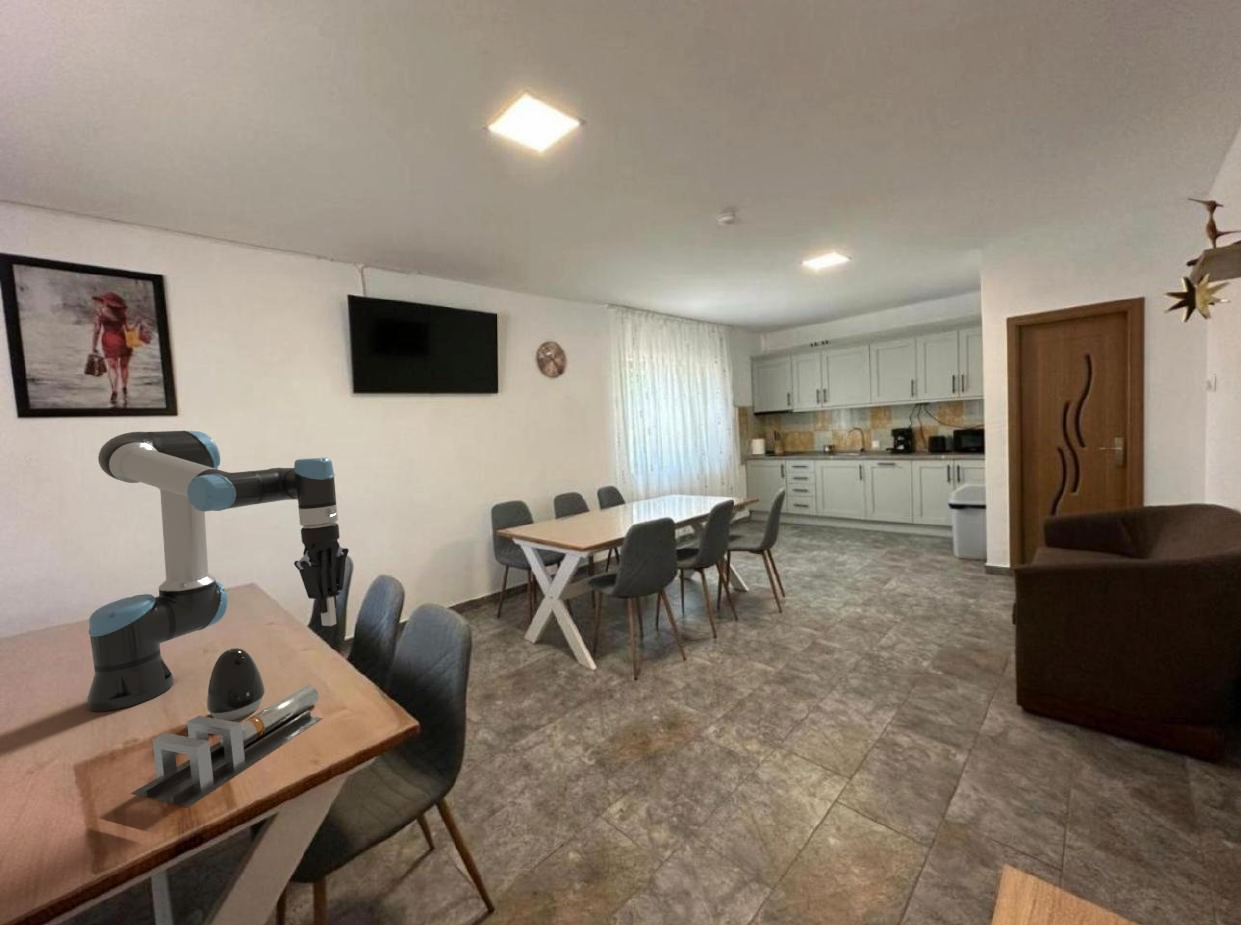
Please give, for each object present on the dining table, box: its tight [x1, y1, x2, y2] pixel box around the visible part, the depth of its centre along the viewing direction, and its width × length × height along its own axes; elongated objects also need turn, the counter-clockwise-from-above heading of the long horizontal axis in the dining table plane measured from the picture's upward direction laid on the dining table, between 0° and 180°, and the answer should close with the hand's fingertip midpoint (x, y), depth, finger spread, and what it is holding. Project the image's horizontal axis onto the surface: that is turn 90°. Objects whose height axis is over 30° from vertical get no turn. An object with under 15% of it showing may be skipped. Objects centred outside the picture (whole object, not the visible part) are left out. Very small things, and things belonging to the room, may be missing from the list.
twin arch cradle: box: [130, 710, 324, 808], centre depth 97 cm, size 14×26×9 cm, turn 163°
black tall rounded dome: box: [206, 648, 266, 721], centre depth 111 cm, size 10×10×15 cm
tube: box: [219, 684, 319, 751], centre depth 105 cm, size 18×4×4 cm, turn 163°
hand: (329, 624), depth 117 cm, fingers closed
